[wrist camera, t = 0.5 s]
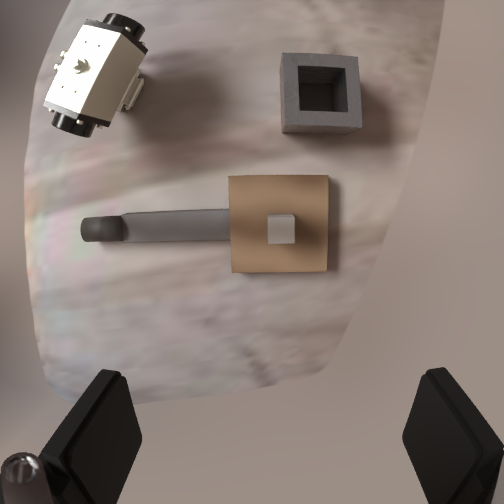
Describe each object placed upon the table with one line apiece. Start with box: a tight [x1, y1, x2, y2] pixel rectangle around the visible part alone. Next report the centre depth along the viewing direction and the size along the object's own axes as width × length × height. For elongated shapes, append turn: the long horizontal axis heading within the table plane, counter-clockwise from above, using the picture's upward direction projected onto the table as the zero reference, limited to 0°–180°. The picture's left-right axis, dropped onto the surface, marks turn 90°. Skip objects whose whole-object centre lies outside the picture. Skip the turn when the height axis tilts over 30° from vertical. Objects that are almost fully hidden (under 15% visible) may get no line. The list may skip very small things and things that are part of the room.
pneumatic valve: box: [43, 13, 148, 138], centre depth 26 cm, size 6×12×12 cm, turn 153°
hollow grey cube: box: [280, 53, 363, 135], centre depth 29 cm, size 7×7×6 cm
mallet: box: [81, 175, 328, 273], centre depth 33 cm, size 10×27×6 cm, turn 91°
